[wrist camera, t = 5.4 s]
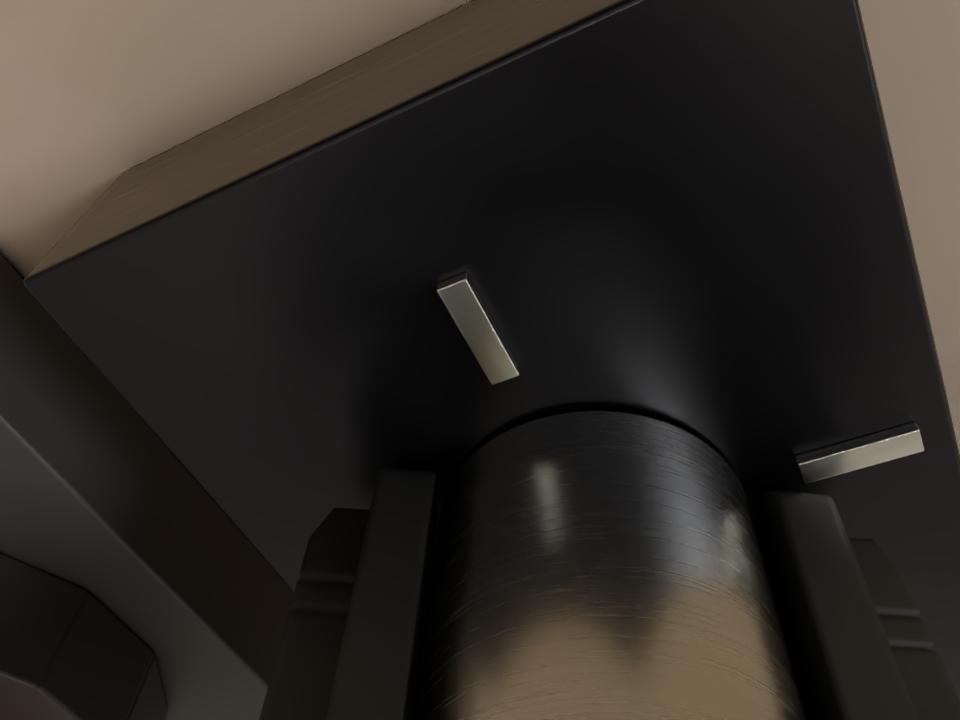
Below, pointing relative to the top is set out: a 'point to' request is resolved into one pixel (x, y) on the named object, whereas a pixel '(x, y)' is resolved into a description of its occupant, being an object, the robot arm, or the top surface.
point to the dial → (600, 582)
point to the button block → (114, 553)
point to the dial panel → (537, 270)
